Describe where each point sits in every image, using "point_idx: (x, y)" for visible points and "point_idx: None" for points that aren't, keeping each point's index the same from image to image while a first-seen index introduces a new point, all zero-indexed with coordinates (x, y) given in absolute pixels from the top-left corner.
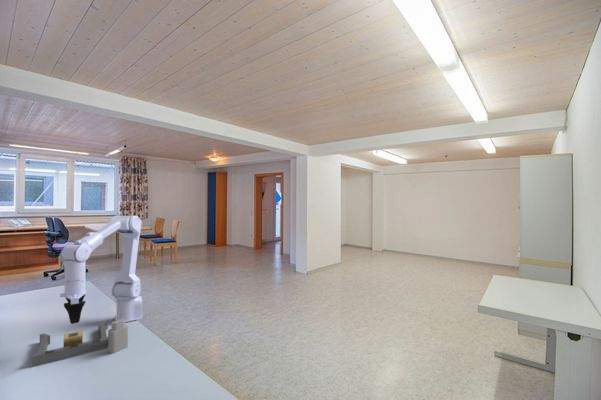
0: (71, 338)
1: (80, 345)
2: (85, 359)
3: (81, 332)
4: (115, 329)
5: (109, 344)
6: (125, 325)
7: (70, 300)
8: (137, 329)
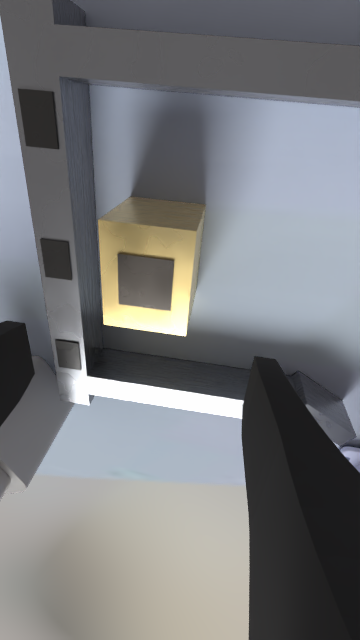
0: (104, 264)
1: (46, 288)
2: (4, 277)
3: (153, 326)
4: None
5: None
6: (7, 491)
7: (295, 582)
8: (200, 471)
